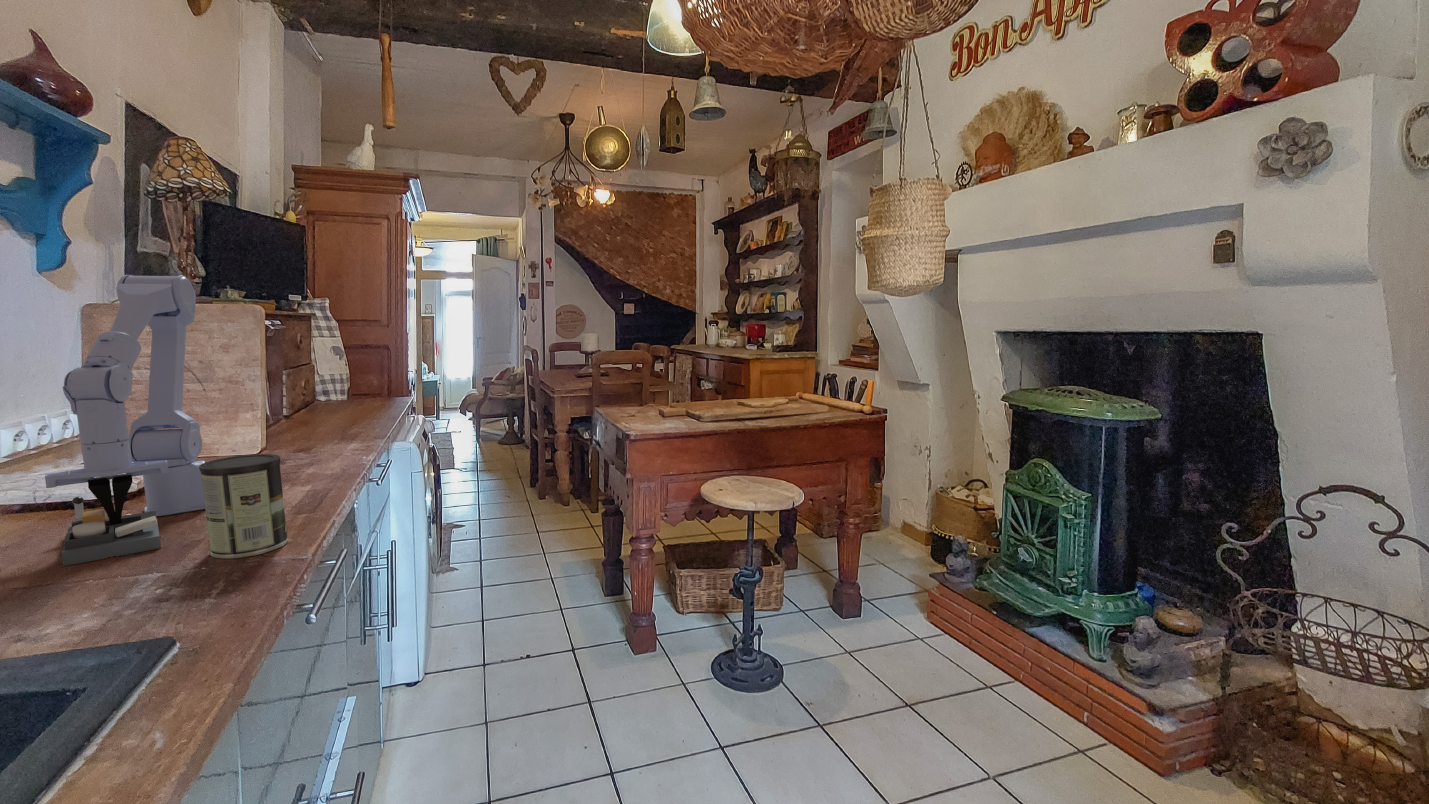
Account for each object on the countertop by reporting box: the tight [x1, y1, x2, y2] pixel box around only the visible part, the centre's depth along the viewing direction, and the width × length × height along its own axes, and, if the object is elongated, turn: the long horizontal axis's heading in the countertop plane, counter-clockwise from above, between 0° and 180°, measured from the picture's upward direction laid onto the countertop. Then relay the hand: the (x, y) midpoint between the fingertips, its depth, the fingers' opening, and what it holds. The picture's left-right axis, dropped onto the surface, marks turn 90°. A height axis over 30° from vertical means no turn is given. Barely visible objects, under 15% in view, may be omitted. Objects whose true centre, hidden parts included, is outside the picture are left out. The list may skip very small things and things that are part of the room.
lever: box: [72, 496, 85, 520], centre depth 108 cm, size 1×1×4 cm
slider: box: [81, 508, 106, 527], centre depth 105 cm, size 2×4×3 cm, turn 42°
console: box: [61, 511, 162, 567], centre depth 106 cm, size 11×18×3 cm, turn 42°
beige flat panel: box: [115, 516, 158, 537], centre depth 104 cm, size 5×3×1 cm, turn 131°
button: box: [72, 521, 106, 538], centre depth 100 cm, size 4×4×2 cm
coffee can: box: [199, 453, 289, 560], centre depth 103 cm, size 10×10×14 cm
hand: (116, 522), depth 107 cm, fingers closed
